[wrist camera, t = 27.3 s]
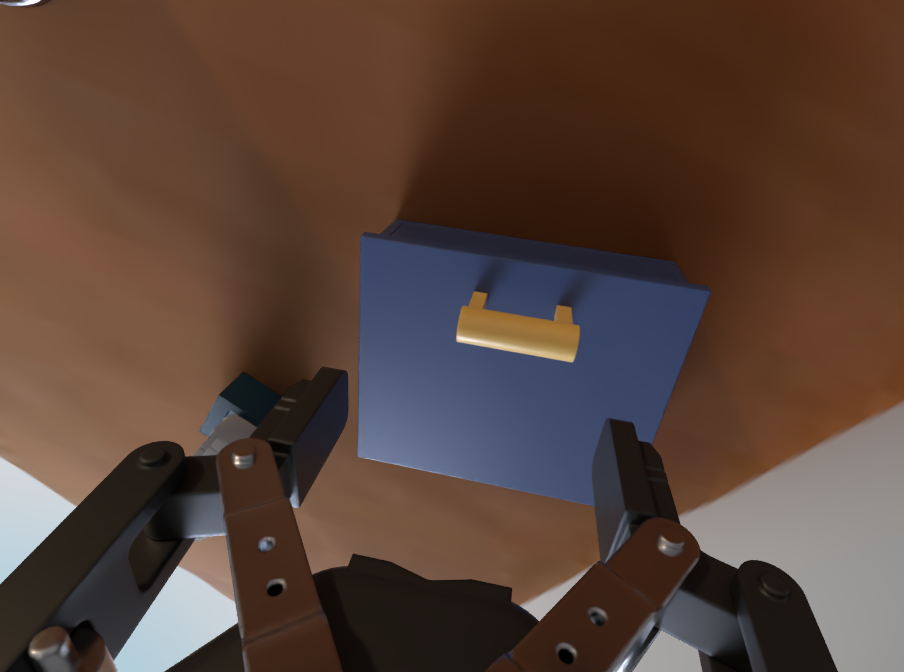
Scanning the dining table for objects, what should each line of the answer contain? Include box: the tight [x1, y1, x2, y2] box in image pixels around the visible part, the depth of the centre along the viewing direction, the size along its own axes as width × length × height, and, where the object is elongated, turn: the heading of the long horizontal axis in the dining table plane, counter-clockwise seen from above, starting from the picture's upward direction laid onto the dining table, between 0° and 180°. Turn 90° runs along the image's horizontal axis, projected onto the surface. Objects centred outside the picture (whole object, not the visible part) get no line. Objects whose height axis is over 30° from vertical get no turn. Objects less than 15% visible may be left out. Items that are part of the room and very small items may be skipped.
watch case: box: [380, 219, 689, 283], centre depth 29 cm, size 13×16×6 cm
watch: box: [192, 372, 282, 541], centre depth 34 cm, size 6×8×11 cm
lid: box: [358, 232, 711, 506], centre depth 25 cm, size 14×16×4 cm
